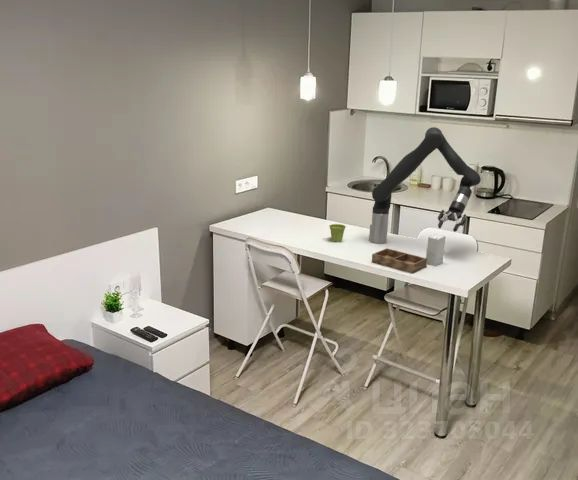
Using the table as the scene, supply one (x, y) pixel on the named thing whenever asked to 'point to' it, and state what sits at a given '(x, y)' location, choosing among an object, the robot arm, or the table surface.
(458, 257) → the table surface
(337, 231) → the plant pot
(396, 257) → the divided wooden tray
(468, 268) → the table surface
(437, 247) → the skincare box
